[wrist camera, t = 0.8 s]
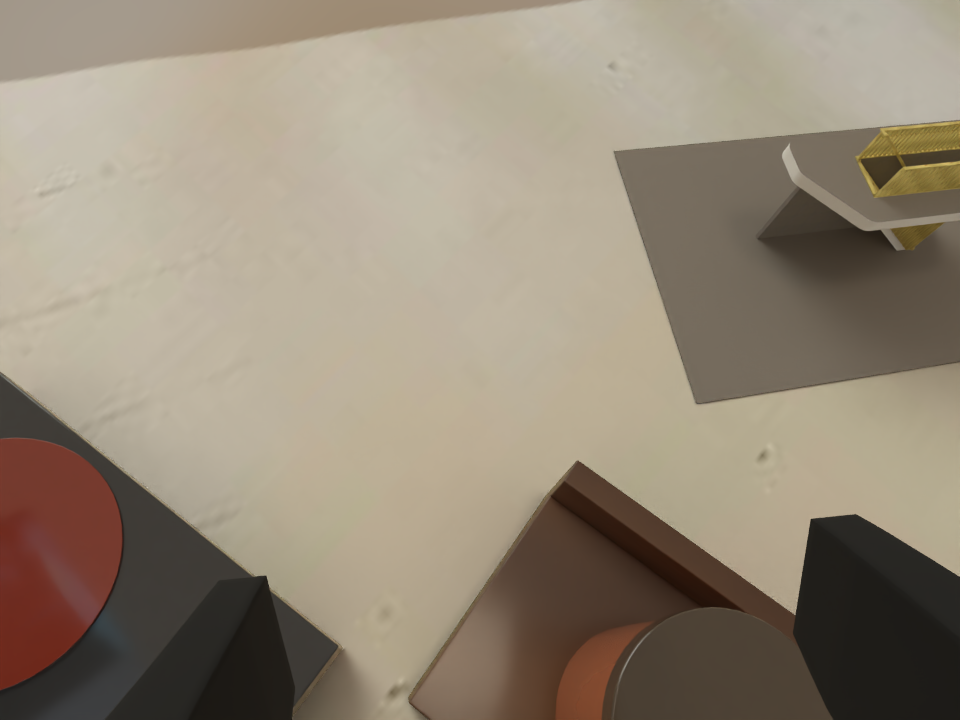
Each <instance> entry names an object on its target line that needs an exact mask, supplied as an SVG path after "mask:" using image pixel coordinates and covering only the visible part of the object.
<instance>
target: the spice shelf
mask: <svg viewBox="0 0 960 720" xmlns="http://www.w3.org/2000/svg"><path fill="white" fill-rule="evenodd" d="M706 607H716V608H727V609H732V610H738V611H741V612H744V613H747V614H750V615H753V616H755V617H757V618H759V619H761V620H763V621H765V622H767V623H768V624H770V625H772V626H773V627H775V628H776V629H778V630H779V631H781V632H782V633H783V634H784V635H786V636H787V637H788V638H789V639H790V640H792V641H793V642H794V643H795V644H796V645H797V646H798V644H797V642H796V639H795V637H794V635H793V629H794V622H795V615H794V614H792V613H791V612H790V611H788V610H787V609H785V608H784V607H783V606H781V605H780V604H778V603H777V602H776V601H774V600H773V599H771V598H770V597H769V596H767V595H766V594H764V593H763V592H762V591H760V590H759V589H757V588H756V587H755V586H753V585H752V584H750V583H749V582H748V581H746V580H745V579H743V578H742V577H741V576H739V575H738V574H736V573H735V572H734V571H732V570H731V569H729V568H728V567H727V566H725V565H724V564H722V563H721V562H720V561H718V560H717V559H715V558H714V557H713V556H711V555H710V554H708V553H707V552H706V551H704V550H703V549H701V548H700V547H699V546H697V545H696V544H694V543H693V542H692V541H690V540H689V539H687V538H686V537H685V536H683V535H682V534H680V533H679V532H678V531H676V530H675V529H673V528H672V527H671V526H669V525H668V524H666V523H665V522H663V521H662V520H661V519H659V518H658V517H656V516H655V515H654V514H652V513H651V512H649V511H648V510H647V509H645V508H644V507H642V506H641V505H640V504H638V503H637V502H635V501H634V500H633V499H631V498H630V497H628V496H627V495H626V494H624V493H623V492H621V491H620V490H619V489H617V488H616V487H614V486H613V485H612V484H610V483H609V482H607V481H606V480H605V479H603V478H602V477H600V476H599V475H598V474H596V473H595V472H593V471H592V470H591V469H589V468H588V467H586V466H585V465H584V464H582V463H581V462H579V461H576V462H575V463H574V465H573V466H572V467H571V468H570V469H569V470H568V471H567V472H566V474H565V475H564V476H563V477H562V478H561V479H560V480H559V481H558V482H557V484H556V485H555V486H554V487H553V488H552V489H551V490H550V492H549V493H548V494H547V495H546V496H545V498H544V499H543V501H542V502H541V504H540V505H539V507H538V508H537V510H536V511H535V513H534V514H533V515H532V517H531V518H530V520H529V521H528V523H527V524H526V526H525V527H524V529H523V530H522V532H521V533H520V534H519V536H518V537H517V539H516V540H515V542H514V543H513V545H512V546H511V548H510V549H509V551H508V552H507V553H506V555H505V556H504V558H503V559H502V561H501V562H500V564H499V565H498V567H497V568H496V570H495V571H494V573H493V574H492V575H491V577H490V578H489V580H488V581H487V583H486V584H485V586H484V587H483V589H482V590H481V592H480V593H479V594H478V596H477V597H476V599H475V600H474V602H473V603H472V605H471V606H470V608H469V609H468V611H467V612H466V613H465V615H464V616H463V618H462V619H461V621H460V622H459V624H458V625H457V627H456V628H455V630H454V631H453V632H452V634H451V635H450V637H449V638H448V640H447V641H446V643H445V644H444V646H443V647H442V649H441V650H440V651H439V653H438V654H437V656H436V657H435V659H434V660H433V662H432V663H431V665H430V666H429V668H428V669H427V670H426V672H425V673H424V675H423V676H422V678H421V679H420V681H419V682H418V684H417V685H416V687H415V688H414V689H413V691H412V692H411V694H410V695H409V697H408V700H409V703H410V705H412V706H413V707H414V708H415V709H417V710H418V711H419V712H420V713H422V714H423V715H424V716H425V717H426V718H428V719H429V720H556V699H557V692H558V688H559V684H560V681H561V678H562V675H563V672H564V670H565V668H566V667H567V665H568V663H569V661H570V660H571V658H572V657H573V655H574V654H575V653H576V651H577V650H578V649H579V648H580V647H581V646H582V645H583V644H584V643H585V642H587V641H588V640H589V639H590V638H592V637H594V636H595V635H597V634H599V633H600V632H603V631H605V630H608V629H611V628H615V627H618V626H624V625H630V624H636V623H642V622H648V621H654V620H658V619H660V618H662V617H665V616H667V615H669V614H673V613H677V612H681V611H685V610H690V609H696V608H706ZM798 647H799V646H798Z"/></svg>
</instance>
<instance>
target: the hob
mask: <svg viewBox="0 0 960 720" xmlns="http://www.w3.org/2000/svg"><path fill="white" fill-rule="evenodd" d="M5 438H28V439H36V440H42V441H47V442H51V443H54V444H57V445H60V446H63V447H65V448H67V449H69V450H71V451H73V452H75V453H77V454H78V455H79V456H81V457H82V458H84V459H85V460H87V461H88V462H89V463H90V464H91V465H93V466H94V467H95V468H96V469H97V470H98V471H99V472H100V474H101V475H102V476H103V478H104V479H105V480H106V481H107V483H108V484H109V486H110V488H111V490H112V492H113V494H114V495H115V498H116V501H117V504H118V506H119V509H120V514H121V519H122V524H123V549H122V558H121V563H120V567H119V572H118V575H117V578H116V581H115V583H114V586H113V589H112V591H111V593H110V595H109V597H108V599H107V601H106V603H105V605H104V607H103V609H102V611H101V612H100V614H99V615H98V617H97V618H96V620H95V621H94V623H93V624H92V625H91V627H90V628H89V629H88V630H87V631H86V633H85V634H84V635H83V636H82V638H81V639H80V640H79V641H78V642H77V643H76V644H75V645H74V646H73V647H72V648H71V649H70V650H69V651H68V652H67V653H65V654H64V655H63V656H62V657H60V658H59V659H58V660H57V661H55V662H54V663H53V664H52V665H50V666H49V667H47V668H46V669H44V670H42V671H41V672H39V673H38V674H36V675H35V676H33V677H31V678H29V679H27V680H25V681H23V682H21V683H19V684H17V685H15V686H12V687H9V688H6V689H4V690H1V691H0V720H104V719H105V718H106V717H107V716H108V715H109V714H110V712H111V711H112V710H113V709H114V708H115V706H116V705H117V704H118V703H119V702H120V700H121V699H122V698H123V697H124V696H125V695H126V693H127V692H128V691H129V690H130V689H131V687H132V686H133V685H134V684H135V683H136V681H137V680H138V679H139V678H140V677H141V676H142V674H143V673H144V672H145V671H146V669H147V668H148V667H149V666H150V664H151V663H152V662H153V661H154V660H155V658H156V657H157V656H158V655H159V653H160V652H161V651H162V650H163V648H164V647H165V646H166V645H167V644H168V642H169V641H170V640H171V639H172V637H173V636H174V635H175V634H176V632H177V631H178V630H179V629H180V627H181V626H182V625H183V624H184V622H185V621H186V620H187V619H188V617H189V616H190V615H191V614H192V612H193V611H194V610H195V609H196V607H197V606H198V605H199V604H200V602H201V601H202V600H203V599H204V598H205V596H206V595H207V594H208V593H209V592H210V590H211V589H212V588H213V587H214V586H215V585H216V583H217V582H218V581H219V580H228V579H238V578H247V577H256V576H254V575H253V574H252V573H251V572H249V571H248V570H247V569H246V568H245V567H243V566H242V565H241V564H240V563H238V562H237V561H236V560H235V559H233V558H232V557H231V556H230V555H228V554H227V553H226V552H225V551H224V550H222V549H221V548H220V547H219V546H217V545H216V544H215V543H214V542H212V541H211V540H210V539H209V538H207V537H206V536H205V535H204V534H203V533H201V532H200V531H199V530H198V529H196V528H195V527H194V526H193V525H191V524H190V523H189V522H188V521H186V520H185V519H184V518H183V517H181V516H180V515H179V514H178V513H177V512H175V511H174V510H173V509H172V508H170V507H169V506H168V505H167V504H165V503H164V502H163V501H162V500H160V499H159V498H158V497H157V496H156V495H154V494H153V493H152V492H151V491H149V490H148V489H147V488H146V487H144V486H143V485H142V484H141V483H139V482H138V481H137V480H136V479H135V478H133V477H132V476H131V475H130V474H128V473H127V472H126V471H125V470H123V469H122V468H121V467H120V466H118V465H117V464H116V463H115V462H113V461H112V460H111V459H110V458H109V457H107V456H106V455H105V454H104V453H102V452H101V451H100V450H99V449H97V448H96V447H95V446H94V445H92V444H91V443H90V442H89V441H88V440H86V439H85V438H84V437H83V436H81V435H80V434H79V433H78V432H76V431H75V430H74V429H73V428H71V427H70V426H69V425H68V424H67V423H65V422H64V421H63V420H62V419H60V418H59V417H58V416H57V415H55V414H54V413H53V412H52V411H50V410H49V409H48V408H47V407H46V406H44V405H43V404H42V403H41V402H39V401H38V400H37V399H36V398H34V397H33V396H32V395H31V394H29V393H28V392H27V391H26V390H24V389H23V388H22V387H20V386H19V385H18V384H16V383H15V382H13V381H12V380H11V379H9V378H8V377H7V376H5V375H4V374H3V373H1V372H0V439H5ZM270 592H271V596H272V600H273V604H274V608H275V611H276V615H277V619H278V623H279V627H280V631H281V634H282V638H283V642H284V646H285V650H286V654H287V658H288V661H289V665H290V669H291V673H292V677H293V681H294V684H295V695H294V704H293V714H292V717H293V715H294V714H295V713H296V711H297V710H298V709H299V707H300V706H301V705H302V703H303V702H304V700H305V699H306V698H307V696H308V695H309V694H310V692H311V691H312V690H313V688H314V687H315V686H316V684H317V683H318V682H319V680H320V679H321V678H322V676H323V675H324V674H325V672H326V671H327V670H328V668H329V667H330V666H331V664H332V663H333V662H334V660H335V659H336V657H337V656H338V655H339V653H340V652H341V651H342V649H343V647H342V646H341V645H340V644H339V643H337V642H336V641H335V640H334V639H332V638H331V637H330V636H329V635H327V634H326V633H325V632H324V631H322V630H321V629H320V628H319V627H317V626H316V625H315V624H314V623H313V622H311V621H310V620H309V619H308V618H306V617H305V616H304V615H303V614H301V613H300V612H299V611H298V610H296V609H295V608H294V607H293V606H292V605H290V604H289V603H288V602H287V601H285V600H284V599H283V598H282V597H280V596H279V595H278V594H277V593H275V592H274V591H273V590H272V589H271V588H270Z"/></svg>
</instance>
